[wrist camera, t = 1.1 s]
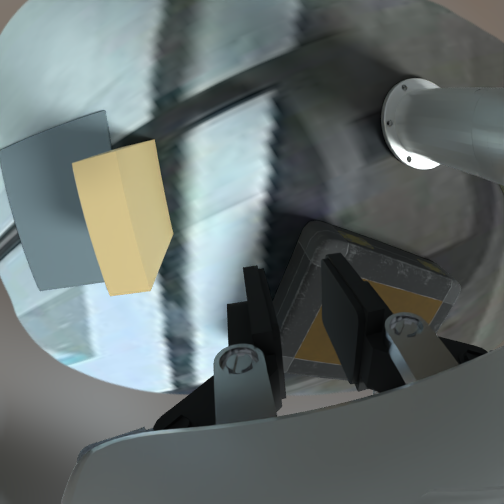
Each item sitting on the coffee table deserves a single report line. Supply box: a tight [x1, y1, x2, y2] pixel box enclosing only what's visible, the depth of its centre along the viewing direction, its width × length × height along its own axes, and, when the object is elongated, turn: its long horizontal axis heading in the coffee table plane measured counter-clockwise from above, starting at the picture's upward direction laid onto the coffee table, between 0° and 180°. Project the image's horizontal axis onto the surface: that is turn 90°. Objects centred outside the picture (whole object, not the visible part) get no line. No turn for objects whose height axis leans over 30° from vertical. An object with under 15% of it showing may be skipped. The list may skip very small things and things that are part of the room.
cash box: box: [273, 221, 461, 380], centre depth 42 cm, size 25×20×8 cm
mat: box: [0, 111, 112, 291], centre depth 36 cm, size 18×22×1 cm
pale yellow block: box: [72, 140, 173, 296], centre depth 30 cm, size 4×12×14 cm, turn 7°
